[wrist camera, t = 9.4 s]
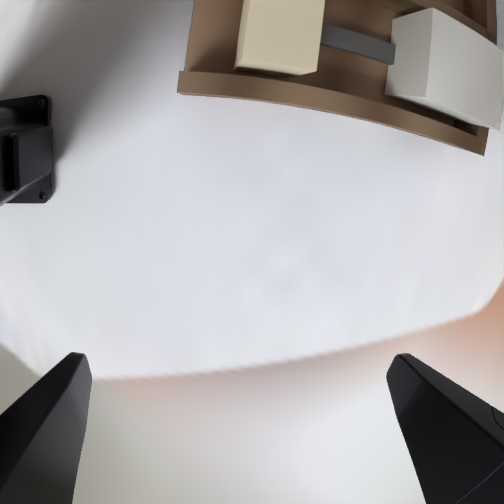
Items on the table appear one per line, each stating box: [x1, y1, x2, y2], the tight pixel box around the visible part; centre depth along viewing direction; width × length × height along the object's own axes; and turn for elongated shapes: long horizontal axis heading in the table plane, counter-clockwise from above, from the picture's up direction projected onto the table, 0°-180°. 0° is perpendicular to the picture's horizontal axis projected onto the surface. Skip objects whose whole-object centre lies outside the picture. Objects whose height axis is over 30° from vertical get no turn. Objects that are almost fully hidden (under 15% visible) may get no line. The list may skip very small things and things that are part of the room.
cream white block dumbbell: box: [234, 0, 504, 130], centre depth 13 cm, size 14×6×4 cm, turn 83°
